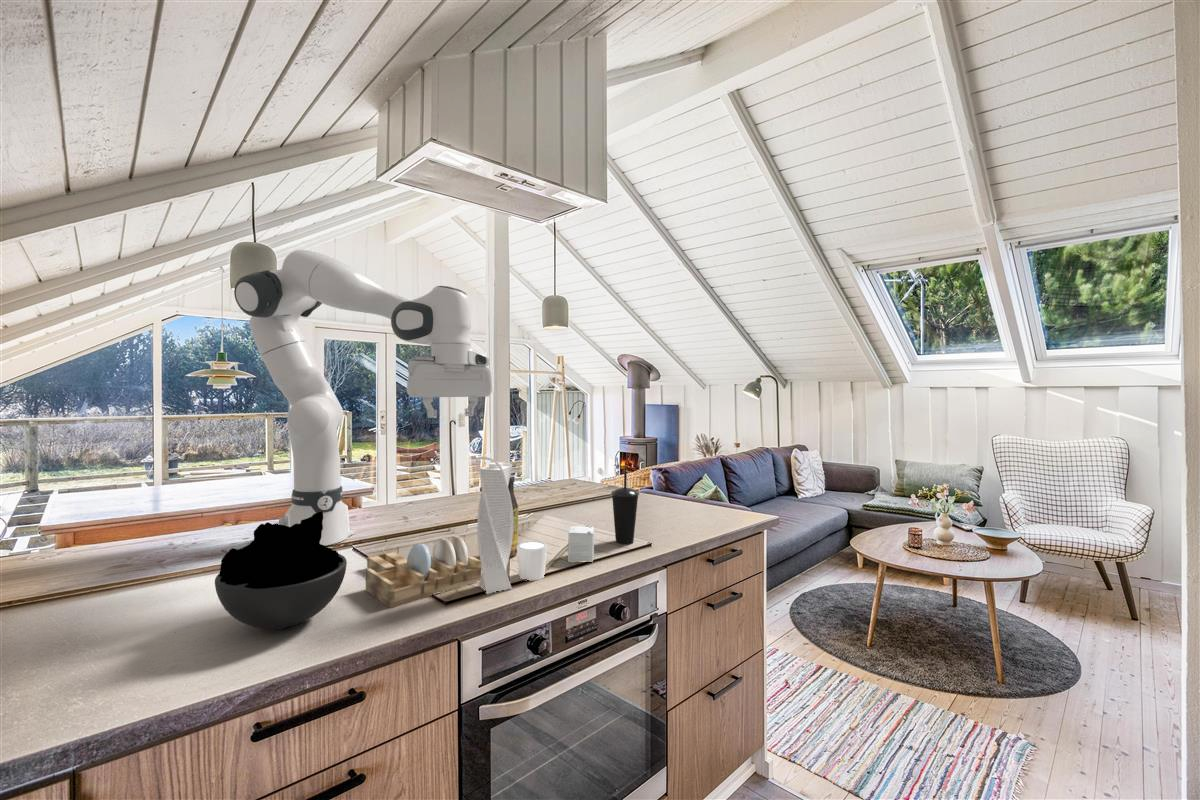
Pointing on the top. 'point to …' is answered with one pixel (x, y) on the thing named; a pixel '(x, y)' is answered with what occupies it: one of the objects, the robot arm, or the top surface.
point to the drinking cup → (624, 512)
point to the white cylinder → (532, 559)
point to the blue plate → (420, 559)
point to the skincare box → (580, 544)
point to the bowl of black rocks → (280, 575)
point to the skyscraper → (495, 525)
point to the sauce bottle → (514, 517)
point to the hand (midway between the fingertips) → (451, 416)
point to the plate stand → (384, 561)
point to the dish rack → (445, 574)
